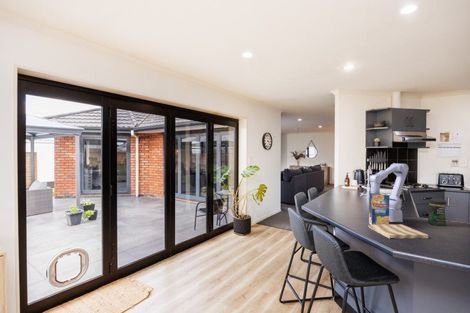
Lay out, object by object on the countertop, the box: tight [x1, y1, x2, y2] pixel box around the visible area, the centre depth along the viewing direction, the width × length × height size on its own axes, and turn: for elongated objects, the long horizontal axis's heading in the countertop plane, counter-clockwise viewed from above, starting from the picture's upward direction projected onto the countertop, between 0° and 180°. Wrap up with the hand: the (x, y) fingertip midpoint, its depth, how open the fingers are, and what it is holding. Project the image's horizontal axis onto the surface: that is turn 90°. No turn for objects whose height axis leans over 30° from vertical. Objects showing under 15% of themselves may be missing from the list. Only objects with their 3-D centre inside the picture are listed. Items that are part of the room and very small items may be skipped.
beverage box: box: [368, 192, 391, 225], centre depth 172 cm, size 7×11×22 cm, turn 76°
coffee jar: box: [427, 198, 447, 227], centre depth 174 cm, size 10×8×19 cm
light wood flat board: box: [367, 223, 429, 239], centre depth 155 cm, size 24×22×2 cm
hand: (374, 209), depth 177 cm, fingers closed
